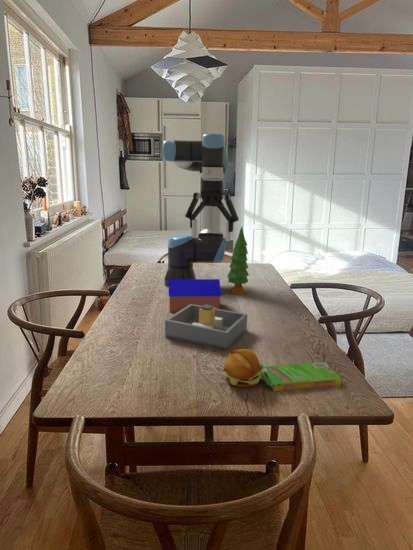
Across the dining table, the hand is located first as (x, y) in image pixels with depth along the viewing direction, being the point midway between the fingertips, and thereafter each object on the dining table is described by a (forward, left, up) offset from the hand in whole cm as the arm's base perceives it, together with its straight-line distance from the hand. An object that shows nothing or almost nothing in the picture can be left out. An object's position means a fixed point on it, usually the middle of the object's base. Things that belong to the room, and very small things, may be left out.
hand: (210, 238), depth 153 cm
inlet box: (+8, -19, -29) cm, 35 cm away
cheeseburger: (+30, -43, -29) cm, 60 cm away
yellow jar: (+8, -19, -28) cm, 35 cm away
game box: (+43, -35, -29) cm, 62 cm away
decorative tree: (0, +29, -29) cm, 41 cm away
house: (-8, +3, -29) cm, 30 cm away
